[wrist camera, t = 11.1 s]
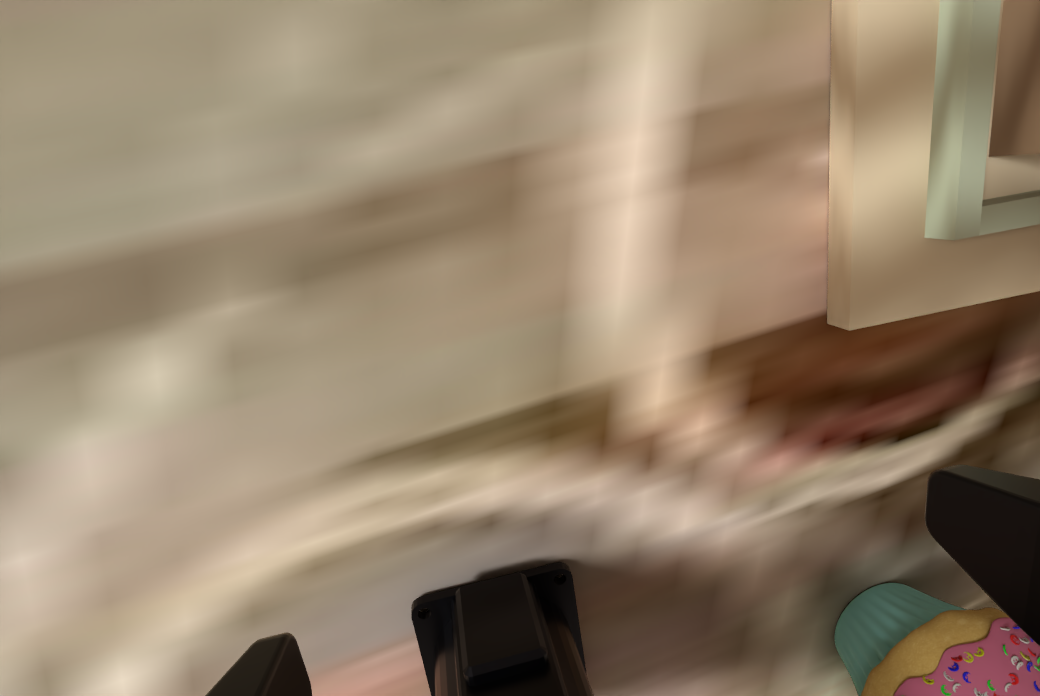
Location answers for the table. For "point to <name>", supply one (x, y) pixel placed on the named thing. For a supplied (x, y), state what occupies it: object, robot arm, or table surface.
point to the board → (922, 165)
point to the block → (1017, 82)
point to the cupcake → (933, 647)
